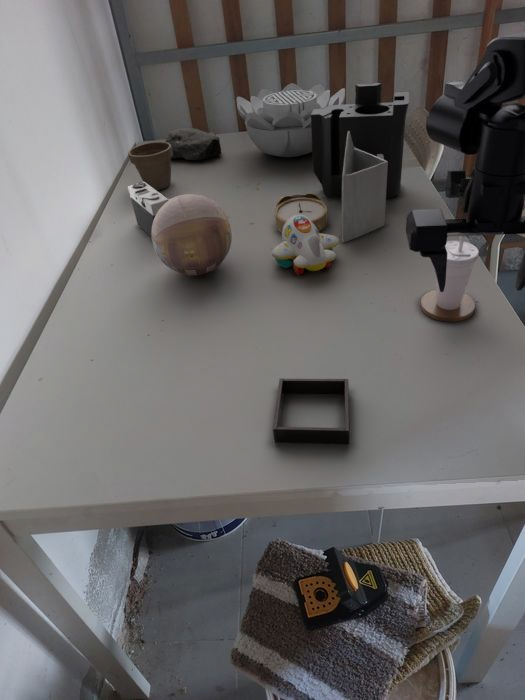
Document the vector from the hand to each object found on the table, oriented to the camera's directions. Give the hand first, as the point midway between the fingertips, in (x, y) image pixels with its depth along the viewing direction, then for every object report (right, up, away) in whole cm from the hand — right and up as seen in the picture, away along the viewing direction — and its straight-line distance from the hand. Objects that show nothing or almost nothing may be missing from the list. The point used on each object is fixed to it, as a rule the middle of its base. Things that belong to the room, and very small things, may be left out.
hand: (479, 289), depth 65 cm
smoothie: (+3, 0, +19) cm, 19 cm away
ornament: (-40, +8, +37) cm, 55 cm away
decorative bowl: (-18, +50, +85) cm, 100 cm away
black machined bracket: (-4, +31, +60) cm, 68 cm away
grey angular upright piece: (-5, +19, +45) cm, 49 cm away
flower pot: (-56, +37, +75) cm, 100 cm away
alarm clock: (-19, +21, +50) cm, 57 cm away
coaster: (+3, -1, +20) cm, 20 cm away
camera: (-50, +19, +53) cm, 75 cm away
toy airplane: (-19, +9, +36) cm, 41 cm away
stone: (-48, +50, +90) cm, 114 cm away
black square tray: (-21, -16, +4) cm, 27 cm away
